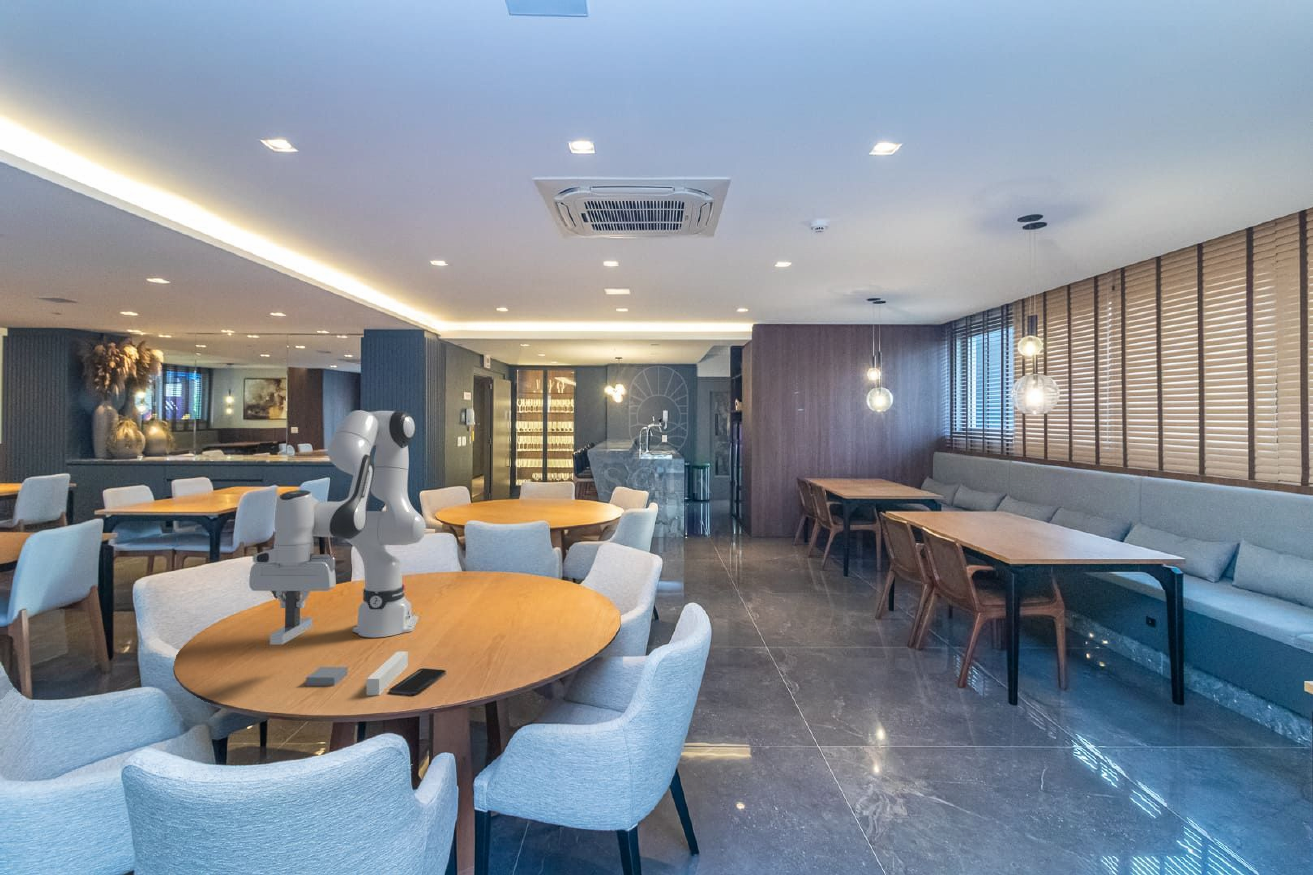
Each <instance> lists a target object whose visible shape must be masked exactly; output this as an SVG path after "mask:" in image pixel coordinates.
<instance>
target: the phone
mask: <svg viewBox="0 0 1313 875" xmlns="http://www.w3.org/2000/svg"><path fill="white" fill-rule="evenodd" d="M446 675H447V670H445V669H436V668H427V667H426V668H419V669H417V670H416V671H415V672H413V673H411V674H409V676H407V677H406V678H404V679H402V680H401V681H400V682H398V683H396V684H395V685H394V686H392V687H390V688H389V690H388V693H390V695H396V696H397V695H398V696H405V697H406V696H408V697H409V696H410V697H416V696H418V695H420V694H421V693H423V692H424V691H425V690H427V689H428V688H430V686H433V685H434V684H435V683H437V682H438V681H439V680H441V679H442V678H443V677H444V676H446Z"/></svg>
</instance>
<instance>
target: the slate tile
mask: <svg viewBox="0 0 1313 875" xmlns="http://www.w3.org/2000/svg"><path fill="white" fill-rule="evenodd" d="M348 669H349V667H348V666H320V667H319V668H317V669H315V670H314V671H313V672H311V673H310V674H309V675H307V676H306V678H305V687H320V686H321V687H334V686H336V685H337V684H338V683H339V681H340V682H341V681H342V680H343V679H344V677H345V676H346V677H347V676H348V674H349V671H348ZM346 677H345V678H346Z"/></svg>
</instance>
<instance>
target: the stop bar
mask: <svg viewBox="0 0 1313 875" xmlns="http://www.w3.org/2000/svg"><path fill="white" fill-rule="evenodd" d="M408 659H409V651H396V652H395V653H393V654H392V655H391V657H389V658H388V659H387V660H386V661H385V662H384V663H383V664H381V665H380V666H379V667H378V668H377V669H376V670H375V671H374V672H373V673H372V674H371V675H369V676H368V677H367V678H366V696H381V694H382V693H383V692H384V691H385V690H386V689H387V687H389V686H390V685H391V684H392V683H393V682H394V681H395V679H397V678H398V677H399V676H400V674H402V673H403V672H404V670H406V668H408V664H409V660H408ZM384 689H385V690H384Z"/></svg>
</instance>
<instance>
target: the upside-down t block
mask: <svg viewBox="0 0 1313 875" xmlns="http://www.w3.org/2000/svg"><path fill="white" fill-rule="evenodd" d="M285 597H286V600H285V608H284V610H285V612H284V626H283V627H281V628H279V629H277V630H275V631H273V632H272V633H270V634H269V645H284V644H286V643H288V642H289V641H291V640H292V639H294V638H296V637H298V636H300V635H301V634H303V633H304V632H306V631H308V630H310V629H312V628H313V621H314V620H313V619H314V618H313V617H301V608H296V601H298V600H300V599H301V595H300V591H286V593H285Z"/></svg>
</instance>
